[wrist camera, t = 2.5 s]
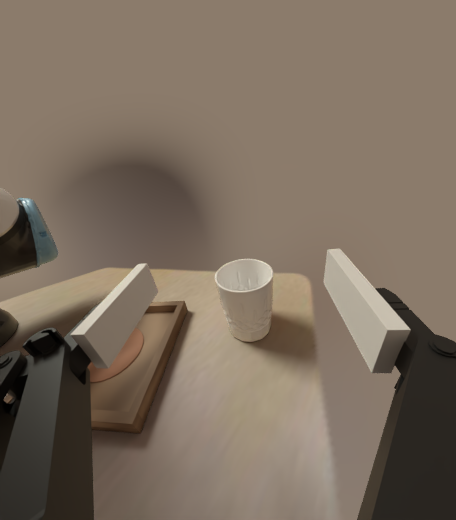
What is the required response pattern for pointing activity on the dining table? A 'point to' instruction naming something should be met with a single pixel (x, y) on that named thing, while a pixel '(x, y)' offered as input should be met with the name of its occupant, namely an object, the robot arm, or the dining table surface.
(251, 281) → the white cup
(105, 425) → the tray
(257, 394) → the dining table surface
